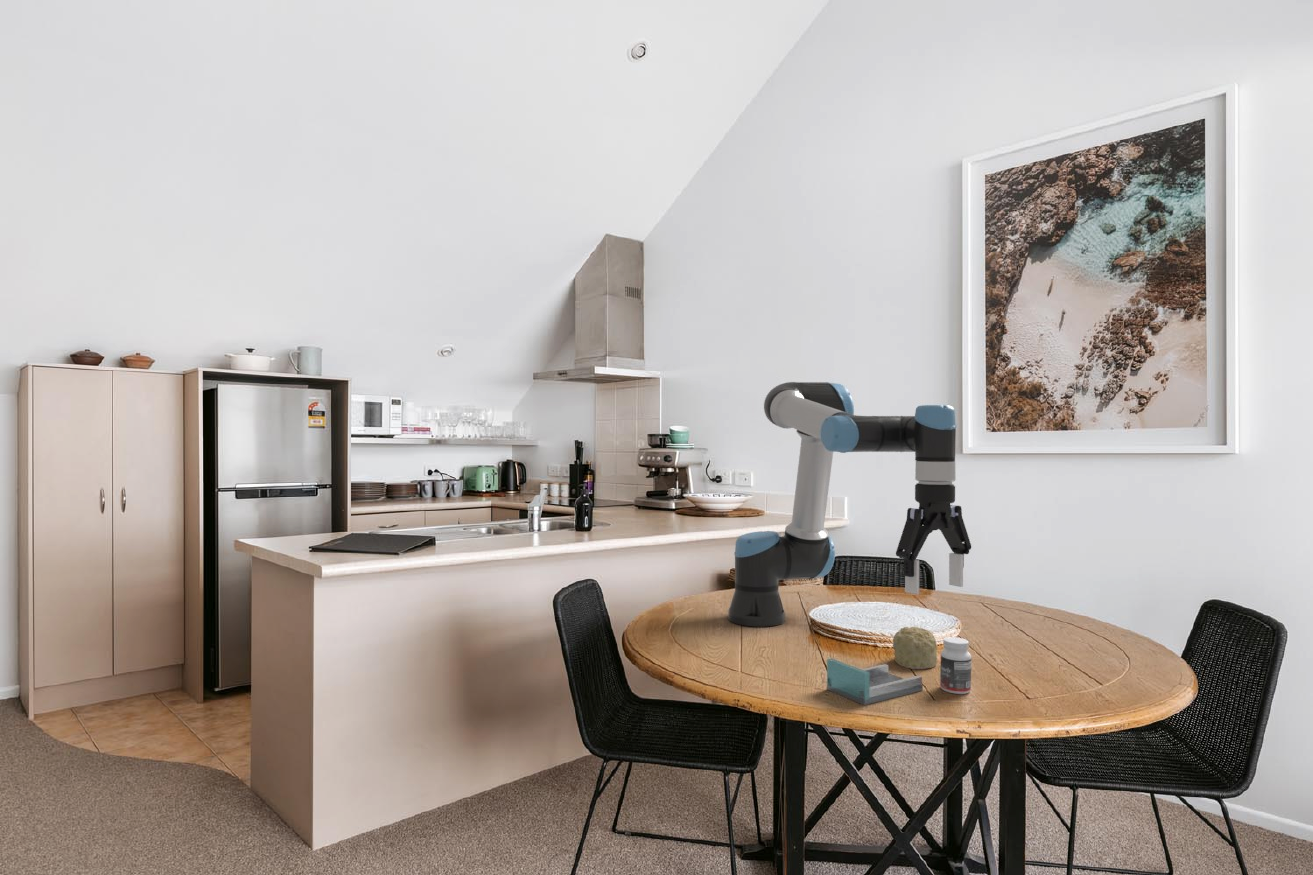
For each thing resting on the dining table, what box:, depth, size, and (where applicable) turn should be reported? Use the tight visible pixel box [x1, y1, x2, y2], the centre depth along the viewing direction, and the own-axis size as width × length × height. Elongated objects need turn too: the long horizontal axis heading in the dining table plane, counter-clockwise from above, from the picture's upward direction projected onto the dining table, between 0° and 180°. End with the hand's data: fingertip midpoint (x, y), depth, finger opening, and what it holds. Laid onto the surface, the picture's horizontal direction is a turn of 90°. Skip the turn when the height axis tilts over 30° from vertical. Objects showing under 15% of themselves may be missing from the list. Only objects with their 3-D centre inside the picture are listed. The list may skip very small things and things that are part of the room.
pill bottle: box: [939, 636, 972, 695], centre depth 152 cm, size 6×6×10 cm
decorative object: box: [892, 626, 938, 670], centre depth 169 cm, size 9×10×10 cm
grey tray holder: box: [826, 658, 924, 706], centre depth 152 cm, size 16×10×6 cm, turn 121°
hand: (934, 589), depth 152 cm, fingers open, 13 cm apart
